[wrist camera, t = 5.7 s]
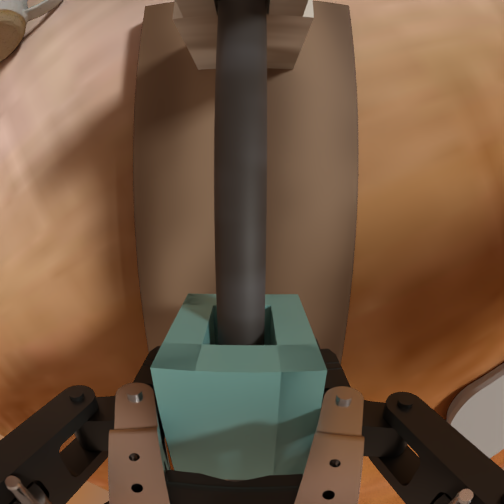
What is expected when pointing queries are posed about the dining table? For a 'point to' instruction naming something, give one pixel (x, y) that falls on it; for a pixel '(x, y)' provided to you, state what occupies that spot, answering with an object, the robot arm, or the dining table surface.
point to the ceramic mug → (18, 21)
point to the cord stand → (246, 163)
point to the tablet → (481, 412)
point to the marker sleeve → (239, 392)
